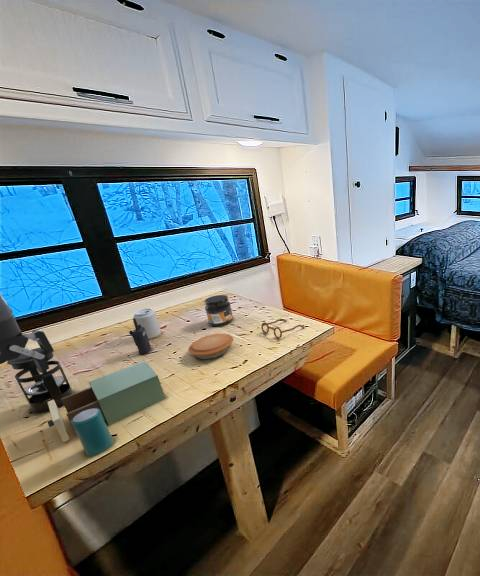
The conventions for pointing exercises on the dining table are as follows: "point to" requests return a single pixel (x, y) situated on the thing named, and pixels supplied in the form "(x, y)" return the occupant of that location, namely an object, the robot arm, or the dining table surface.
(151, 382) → the cabinet
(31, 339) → the robot arm
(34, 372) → the french press
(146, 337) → the two-way radio
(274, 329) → the glasses
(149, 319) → the can
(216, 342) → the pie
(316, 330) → the dining table surface
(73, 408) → the drawer
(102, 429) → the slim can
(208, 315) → the supplement container
